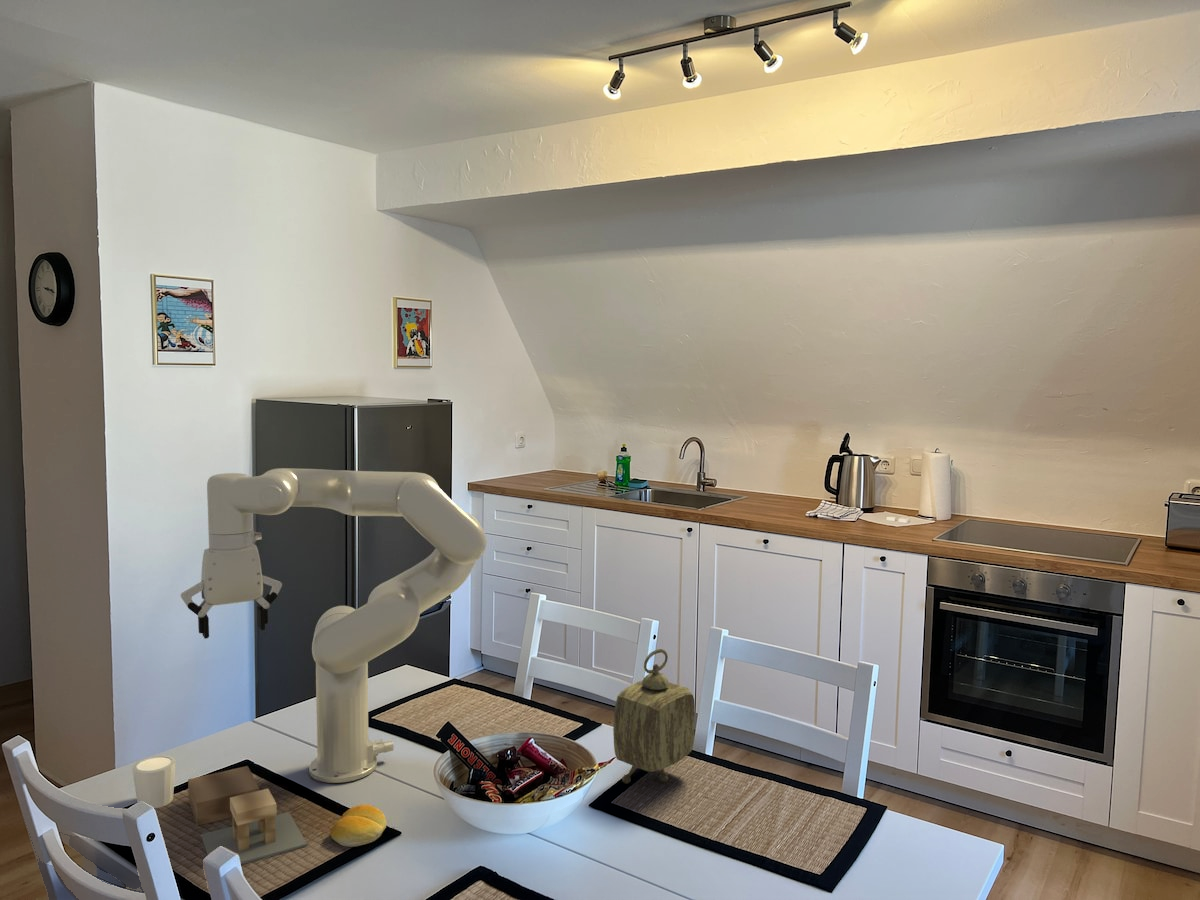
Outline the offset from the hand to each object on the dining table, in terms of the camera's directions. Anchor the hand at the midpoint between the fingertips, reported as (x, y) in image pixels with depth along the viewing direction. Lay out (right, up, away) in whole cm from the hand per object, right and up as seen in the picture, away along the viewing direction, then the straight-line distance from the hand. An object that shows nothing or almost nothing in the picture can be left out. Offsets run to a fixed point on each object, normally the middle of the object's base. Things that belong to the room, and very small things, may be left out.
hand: (233, 632), depth 160 cm
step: (+1, -29, -7) cm, 30 cm away
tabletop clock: (+78, -29, +5) cm, 84 cm away
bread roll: (+27, -31, -15) cm, 44 cm away
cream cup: (-11, -29, -6) cm, 32 cm away
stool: (+11, -30, -18) cm, 37 cm away
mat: (+11, -30, -19) cm, 37 cm away
